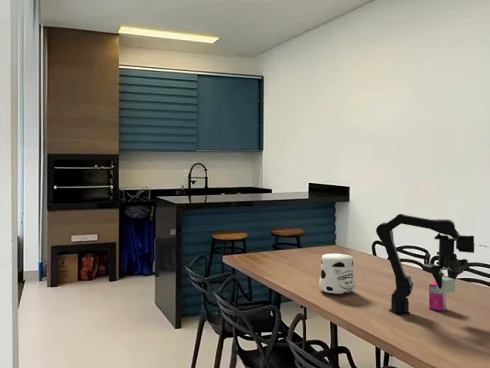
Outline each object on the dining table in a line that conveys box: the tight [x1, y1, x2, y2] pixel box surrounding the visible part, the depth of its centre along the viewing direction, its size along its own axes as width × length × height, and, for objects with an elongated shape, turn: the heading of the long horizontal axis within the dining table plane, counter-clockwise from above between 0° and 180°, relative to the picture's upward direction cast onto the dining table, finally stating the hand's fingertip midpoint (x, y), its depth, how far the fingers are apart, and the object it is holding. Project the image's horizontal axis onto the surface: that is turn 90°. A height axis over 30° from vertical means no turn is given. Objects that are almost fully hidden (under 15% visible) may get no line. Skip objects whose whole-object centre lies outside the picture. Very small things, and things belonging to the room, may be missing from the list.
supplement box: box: [428, 281, 447, 313], centre depth 203 cm, size 6×6×12 cm
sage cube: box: [436, 276, 456, 294], centre depth 190 cm, size 5×5×5 cm
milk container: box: [318, 253, 356, 296], centre depth 228 cm, size 17×17×18 cm
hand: (445, 288), depth 190 cm, fingers closed on sage cube, 5 cm apart
